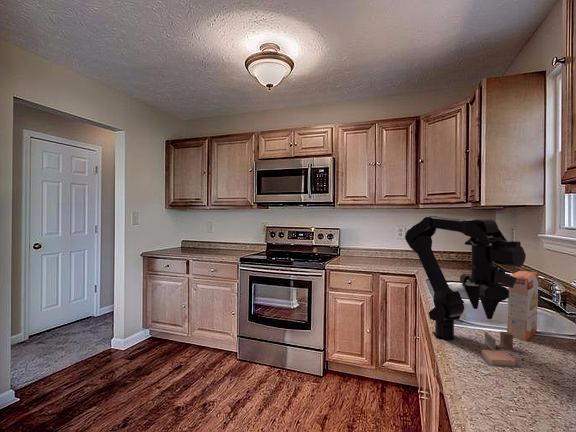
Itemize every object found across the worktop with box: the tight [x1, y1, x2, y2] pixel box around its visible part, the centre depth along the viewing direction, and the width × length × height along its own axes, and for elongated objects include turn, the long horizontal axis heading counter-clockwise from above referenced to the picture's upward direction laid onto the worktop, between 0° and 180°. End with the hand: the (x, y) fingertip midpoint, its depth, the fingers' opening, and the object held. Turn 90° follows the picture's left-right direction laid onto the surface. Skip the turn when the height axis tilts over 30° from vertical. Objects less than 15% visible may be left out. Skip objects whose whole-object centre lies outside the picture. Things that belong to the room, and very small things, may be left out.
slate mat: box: [476, 352, 525, 369], centre depth 91 cm, size 8×9×1 cm
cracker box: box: [506, 270, 540, 342], centre depth 109 cm, size 14×6×21 cm, turn 131°
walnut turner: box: [484, 331, 514, 351], centre depth 99 cm, size 6×6×5 cm
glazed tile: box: [481, 349, 517, 366], centre depth 91 cm, size 6×1×6 cm
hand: (482, 313), depth 96 cm, fingers open, 9 cm apart
